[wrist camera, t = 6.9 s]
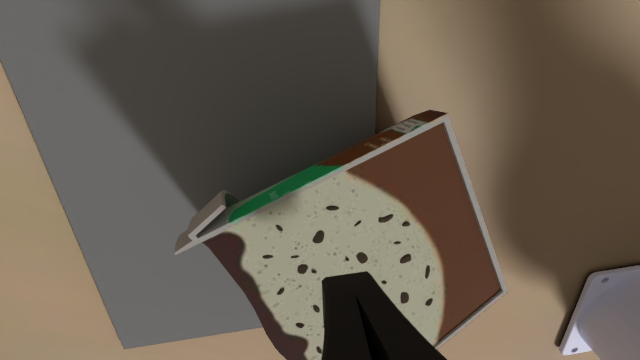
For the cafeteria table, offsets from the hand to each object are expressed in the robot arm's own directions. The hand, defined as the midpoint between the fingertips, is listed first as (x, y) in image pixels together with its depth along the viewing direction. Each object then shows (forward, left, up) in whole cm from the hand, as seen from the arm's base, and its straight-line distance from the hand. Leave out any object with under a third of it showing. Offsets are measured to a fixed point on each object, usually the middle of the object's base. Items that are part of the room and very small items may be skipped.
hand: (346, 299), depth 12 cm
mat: (+4, 0, -9) cm, 9 cm away
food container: (-6, +1, -7) cm, 9 cm away
